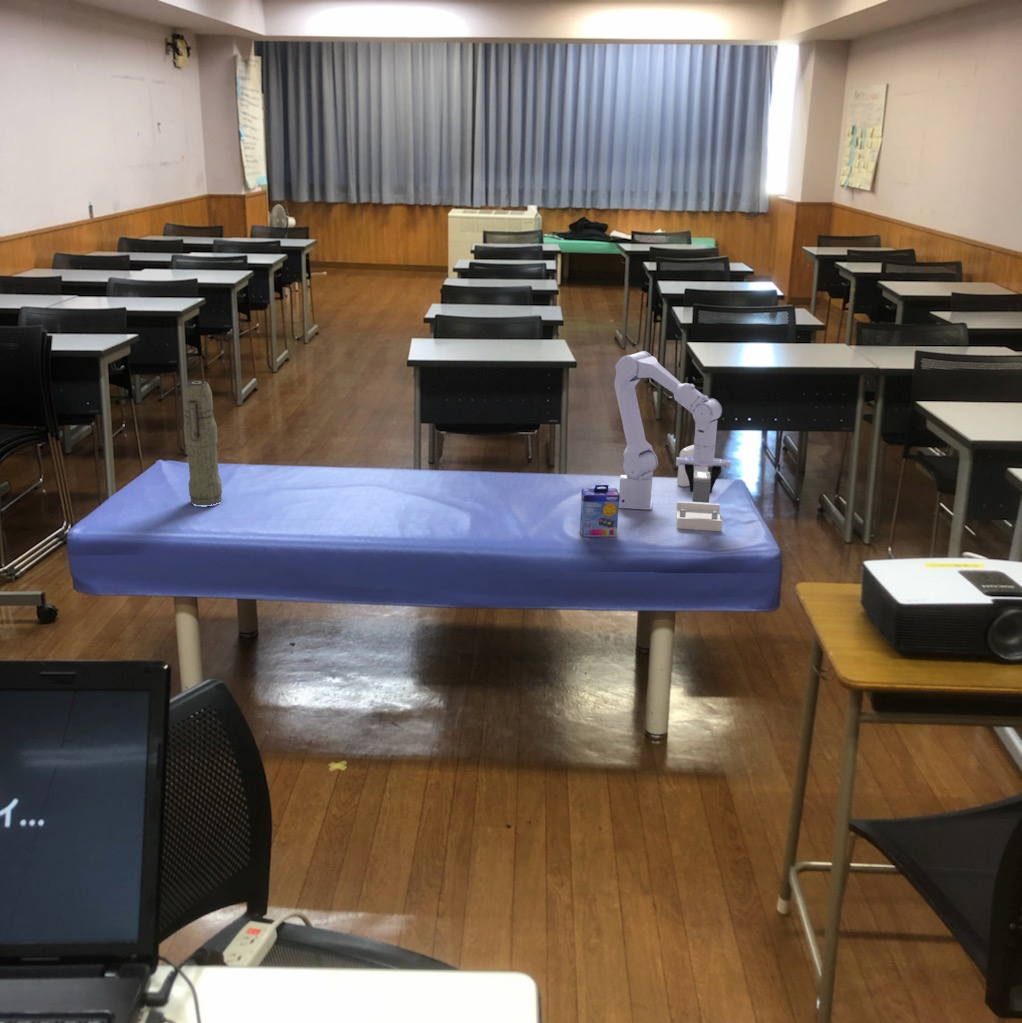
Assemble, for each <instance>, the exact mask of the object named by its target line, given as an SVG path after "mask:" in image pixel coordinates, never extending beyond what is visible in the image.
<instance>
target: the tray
mask: <svg viewBox="0 0 1022 1023" xmlns="http://www.w3.org/2000/svg"><path fill="white" fill-rule="evenodd" d="M720 508H721V504H720V503H711V502H709V503H704V502H692V501H681V500H680V501H679V500H677V501H676V510H675V511H676V514H675V515H676V529H678V530H679V529H680V530H696V531H708V532H709V531H710V532H722V525H723V520H722V519H721V516H720V514H721V513H720Z"/></svg>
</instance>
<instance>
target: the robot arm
mask: <svg viewBox="0 0 1022 1023" xmlns="http://www.w3.org/2000/svg"><path fill="white" fill-rule="evenodd" d="M614 368H615V372H616V374H615V378H614V390H615V395H616V400H617V405H618V409H619V413H620V417H621V422H622V427H623V432H624V433H623V434H624V437H625V441H626V446H625V449H624V451H623V454H622V455H623V464H622V467H623V471H624V473H625V474H620V478H619V479H620V480H619V490H618V493H619V495H620V499H619V509H629V510H630V509H631V510H643V511H644V510H649V511H651V510H652V508H653V499H652V489H653V477H654V476H653V475H654V471H655V470H656V469H657V467H658V465H659V460H658V456H657V455H656V453H655V452H654V449H653V445H651V443H649V442H648V440H646V435H645V430H644V429H645V428H644V425H643V421H642V416H641V412H640V407H639V402H638V396H637V392H636V386H637V384H638V383H639V382H640V380H641V379H646V378H647V379H649V378H651V379H652V380H654V381H655V382H656V383H658V384H659V385H661V386H662V387H664V388H665V389H667V390H668V391H670V392H671V393H672V394H673V398H674V401H676V402H677V403H678V404H680V405H681V406H682V407H684V408H685V409H686V410H687V411H688V412H690V413H691V414H692V418H693V420H694V423H695V424H694V426H695V428H694V430H695V431H694V440H693V445H694V451H693V457H679V456H676V458H675V459H676V460H675V466H676V467H678V466H680V465H684V466H685V471H686V474H687V477H688V480H689V484H690V486H689V492H690V493H692V492H693V475H694V466H701V467H708V468H710V478H711V486H710V494H712V493H713V489H714V485H715V484H716V481H717V480H718V478H719V476H720V475H721V473H722V469H723V468H724V469H725V470H729V469H731V459H723V458H722V459H721V458H716V457H715V452H716V442H717V441H716V440H717V430H718V419H719V418H720V417H721V416H722V413H723V408H722V405H721V404H720V402H719V401H718V400H717V399H715V398H709V396H708V395H705V394H703V393H702V392H700V390H698V389H697V388H695V387H696V386H695V384H693V383H688V382H685V383H682V382H680V381H679V380H678V379H677V378H676V377H675V376H674V375H672V373H671V372H669V371H668V370H667V369H666V368H664V366H662V365H661V364H660V363H659V361H658V360H657V358H656V357H655V356H653V355H651V354H650V352H647V351H644V350H640V351H638V352H636V353H633V354H628V355H623V356H622V357H620V358H619V360H618V361H617V362H616V364H615V366H614Z"/></svg>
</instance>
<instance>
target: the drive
mask: <svg viewBox="0 0 1022 1023" xmlns="http://www.w3.org/2000/svg"><path fill="white" fill-rule="evenodd" d="M710 486H711V471H708V472H705V471H694V475H693V492H691V502H697V503H710V496H711V493H710Z"/></svg>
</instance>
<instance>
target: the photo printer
mask: <svg viewBox="0 0 1022 1023" xmlns="http://www.w3.org/2000/svg"><path fill="white" fill-rule="evenodd" d="M693 451H694V444H691V445H689V446H686V447H684V448H683V449H681V450H680V452H679V456H678V457H693ZM677 468H678V469H677V479H676V481H677V482H676V483H677V486H679V487H682V488H684V487H690V484H689V480H688V477H687V474H686V471H685V466H684V465H680V466H677ZM694 471H705V472H709V467H701V466H694Z"/></svg>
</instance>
